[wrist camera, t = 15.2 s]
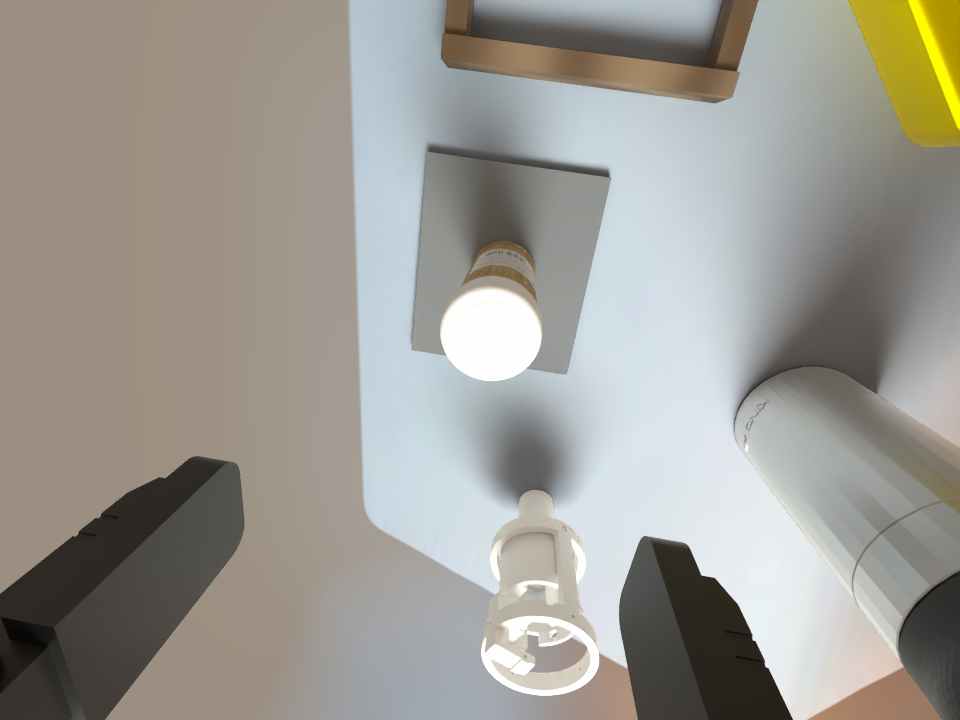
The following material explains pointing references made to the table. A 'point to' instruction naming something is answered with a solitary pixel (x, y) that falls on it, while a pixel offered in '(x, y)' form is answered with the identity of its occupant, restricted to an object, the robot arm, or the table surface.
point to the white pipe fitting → (536, 600)
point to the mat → (508, 217)
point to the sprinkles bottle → (494, 315)
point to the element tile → (917, 63)
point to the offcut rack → (605, 59)
